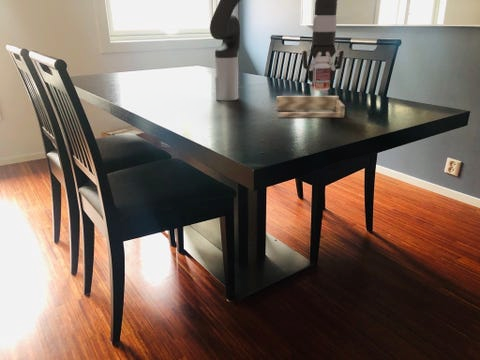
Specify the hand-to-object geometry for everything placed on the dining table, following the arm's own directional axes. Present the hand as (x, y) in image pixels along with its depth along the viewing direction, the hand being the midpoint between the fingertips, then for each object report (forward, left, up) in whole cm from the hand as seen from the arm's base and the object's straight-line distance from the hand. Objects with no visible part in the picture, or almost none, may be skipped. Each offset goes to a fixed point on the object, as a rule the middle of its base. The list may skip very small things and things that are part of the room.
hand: (320, 81), depth 136 cm
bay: (-4, 0, -11) cm, 12 cm away
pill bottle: (0, 0, -3) cm, 3 cm away
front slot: (+1, 0, -11) cm, 11 cm away
